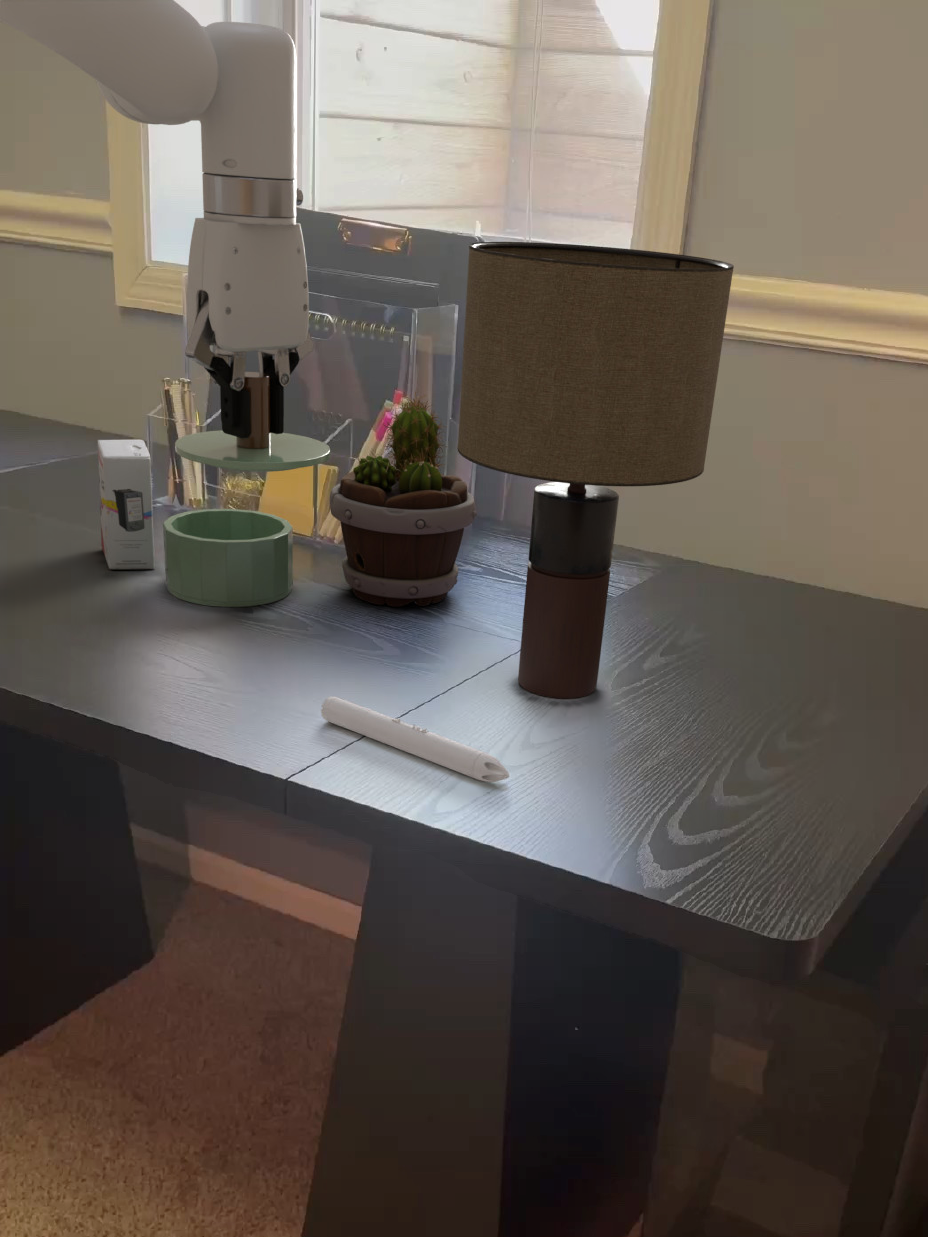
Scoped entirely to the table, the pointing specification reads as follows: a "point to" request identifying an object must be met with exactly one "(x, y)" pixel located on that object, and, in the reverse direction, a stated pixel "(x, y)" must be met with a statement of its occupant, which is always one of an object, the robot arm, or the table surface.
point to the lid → (254, 440)
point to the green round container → (228, 557)
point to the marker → (414, 740)
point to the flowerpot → (403, 517)
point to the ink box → (126, 504)
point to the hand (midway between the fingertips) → (252, 431)
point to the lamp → (585, 413)
